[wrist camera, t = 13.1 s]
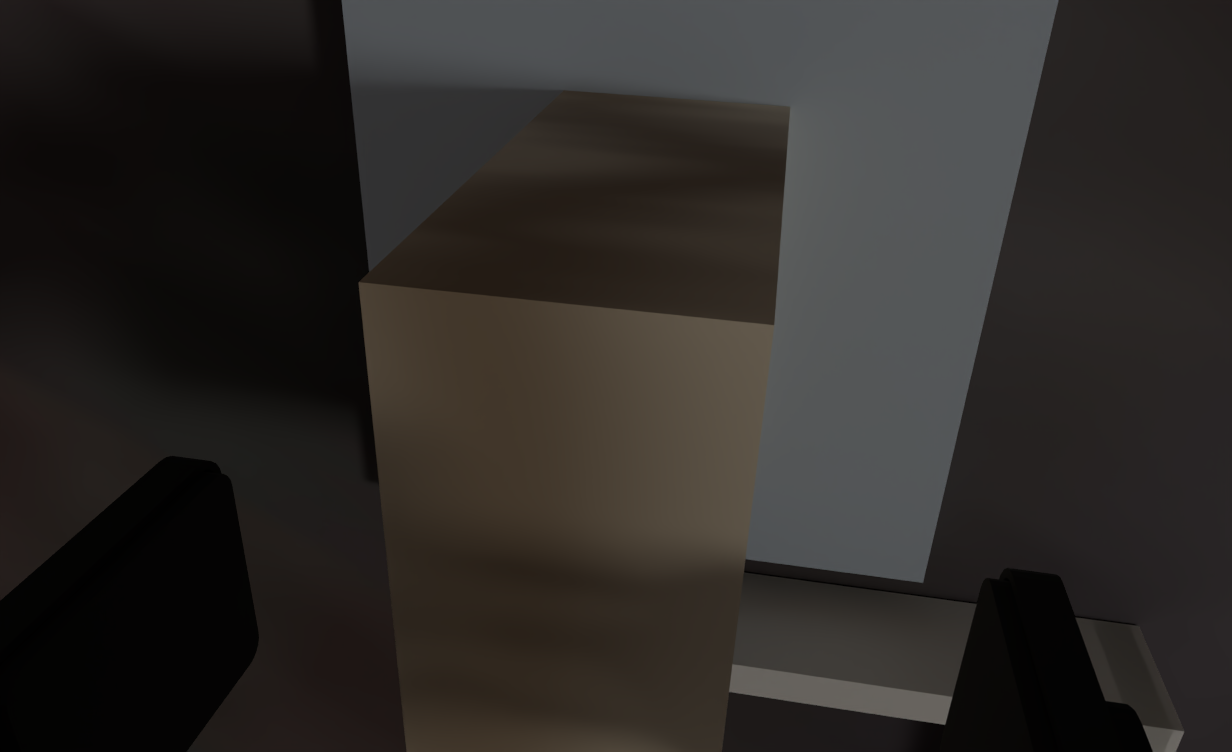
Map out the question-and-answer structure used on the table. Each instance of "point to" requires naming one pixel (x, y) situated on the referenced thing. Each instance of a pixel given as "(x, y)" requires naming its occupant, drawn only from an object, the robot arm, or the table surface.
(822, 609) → the frame
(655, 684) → the block
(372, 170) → the mat
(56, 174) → the table surface
